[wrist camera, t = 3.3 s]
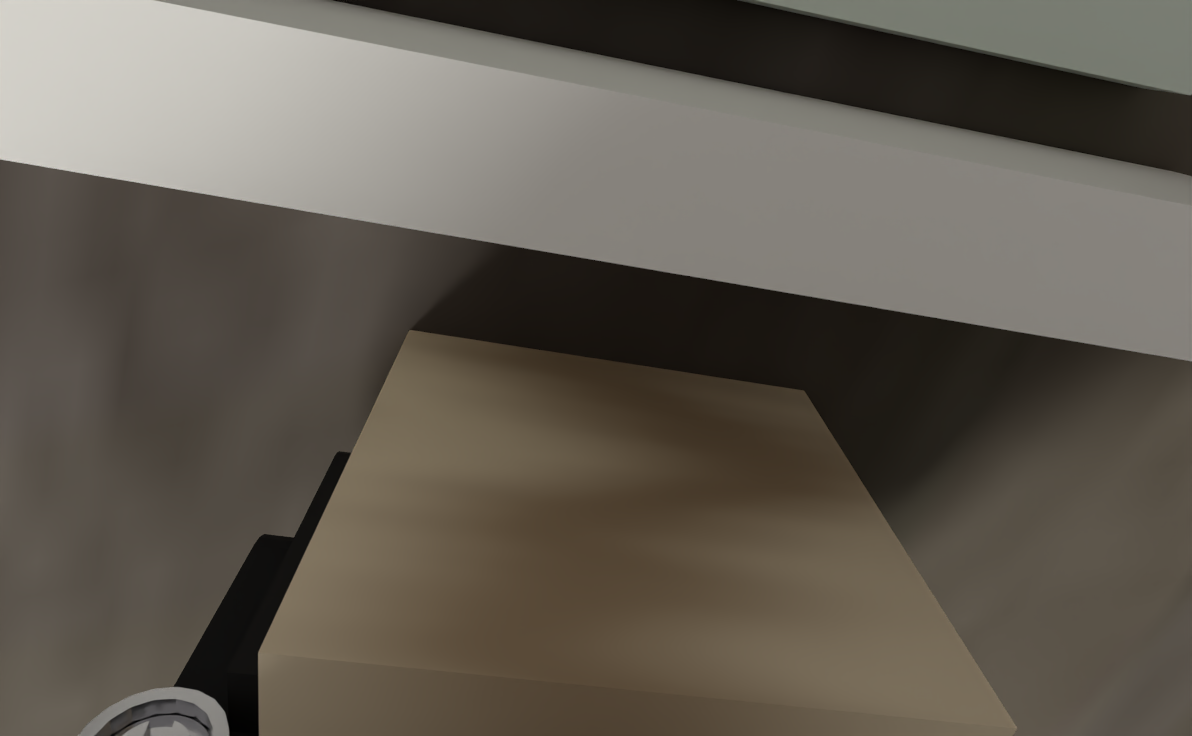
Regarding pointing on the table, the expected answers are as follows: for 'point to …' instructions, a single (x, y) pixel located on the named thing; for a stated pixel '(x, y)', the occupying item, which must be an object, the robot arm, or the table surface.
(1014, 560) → the table surface
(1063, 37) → the sage pad
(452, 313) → the table surface
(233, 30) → the cream screen
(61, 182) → the table surface
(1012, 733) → the maple cube
